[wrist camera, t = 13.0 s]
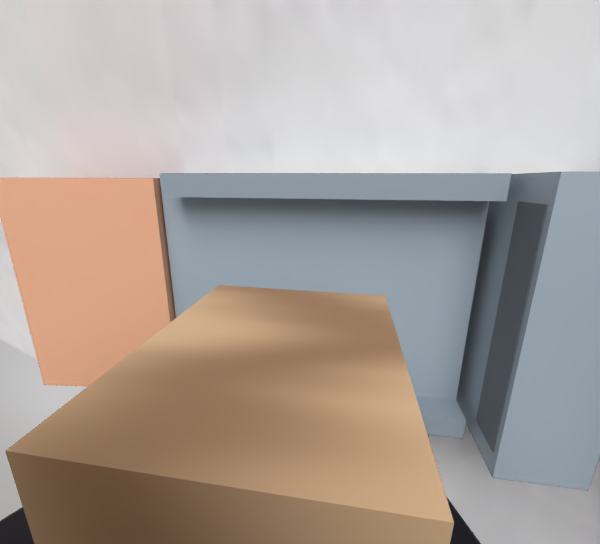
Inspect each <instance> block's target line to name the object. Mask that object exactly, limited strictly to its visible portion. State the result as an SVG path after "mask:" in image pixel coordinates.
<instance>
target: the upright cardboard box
mask: <svg viewBox="0 0 600 544" xmlns="http://www.w3.org/2000/svg"><path fill="white" fill-rule="evenodd" d="M6 454H7V457H8V461H9V464H10V467H11V471H12V474H13V477H14V480H15V483H16V487H17V489H18V493H19V496H20V499H21V502H22V505H23V509H24V512H25V515H26V519H27V522H28V525H29V528H30V531H31V534H32V538H33V541H34V544H450V541H451V536H452V531H453V526H454V521H453V517H452V514H451V511H450V508H449V504H448V501H447V498H446V494H445V491H444V488H443V484H442V481H441V478H440V475H439V471H438V468H437V465H436V461H435V458H434V455H433V451H432V448H431V445H430V442H429V438H428V435H427V432H426V428H425V425H424V422H423V418H422V415H421V412H420V409H419V405H418V402H417V399H416V395H415V392H414V389H413V386H412V382H411V379H410V376H409V372H408V369H407V366H406V362H405V359H404V356H403V353H402V349H401V346H400V343H399V339H398V336H397V333H396V329H395V326H394V323H393V320H392V316H391V313H390V310H389V306H388V303H387V300H386V296H383V295H367V294H351V293H335V292H319V291H303V290H287V289H271V288H256V287H240V286H224V285H218V286H217V287H215V288H214V289H213V290H211V291H210V292H209V293H208V294H206V295H205V296H204V297H202V298H201V299H200V300H199V301H197V302H196V303H195V304H193V305H192V306H191V307H190V308H188V309H187V310H186V311H184V312H183V313H182V314H181V315H179V316H178V317H177V318H175V319H174V320H173V321H172V322H170V323H169V324H168V325H166V326H165V327H164V328H163V329H161V330H160V331H159V332H157V333H156V334H155V335H154V336H152V337H151V338H150V339H148V340H147V341H146V342H145V343H143V344H142V345H141V346H139V347H138V348H137V349H136V350H134V351H133V352H132V353H130V354H129V355H128V356H127V357H125V358H124V359H123V360H121V361H120V362H119V363H118V364H116V365H115V366H114V367H112V368H111V369H110V370H109V371H107V372H106V373H105V374H103V375H102V376H101V377H100V378H98V379H97V380H96V381H94V382H93V383H92V384H91V385H89V386H88V387H87V388H86V389H84V390H83V391H82V392H80V393H79V394H78V395H76V396H75V397H74V398H73V399H71V400H70V401H69V402H68V403H66V404H65V405H64V406H62V407H61V408H60V409H58V410H57V411H56V412H55V413H53V414H52V415H51V416H50V417H48V418H47V419H46V420H44V421H43V422H42V423H41V424H39V425H38V426H37V427H35V428H34V429H33V430H31V431H30V432H29V433H28V434H26V435H25V436H24V437H23V438H21V439H20V440H19V441H17V442H16V443H15V444H13V445H12V446H11V447H10V448H9V449H7V450H6Z"/></svg>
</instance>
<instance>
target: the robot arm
mask: <svg viewBox="0 0 600 544" xmlns="http://www.w3.org/2000/svg"><path fill="white" fill-rule="evenodd" d="M446 498H447V497H446ZM447 501H448V504H449V508H450V511H451V514H452V517H453V521H454V526H453V531H452V536H451V541H450V544H481V543H480V542H479V541H478V539H477V538H476V536H475V535H474V534H473V532H472V531H471V530H470V528H469V527H468V525H467V524H466V523H465V521H464V520H463V519H462V517H461V516H460V515H459V513H458V512H457V510H456V509H455V508H454V506H453V505H452V504H451V502H450V501H449V499H448V498H447ZM0 544H34V541H33V538H32V534H31V531H30V528H29V525H28V522H27V519H26V515H25V512H24V509H23V507H22V508H20V509H19V510H17V511H15V512H14V513H12V514H11V515H9V516H7V517H6V518H4V519H2V520H1V521H0Z"/></svg>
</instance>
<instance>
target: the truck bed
mask: <svg viewBox="0 0 600 544" xmlns="http://www.w3.org/2000/svg"><path fill="white" fill-rule="evenodd" d="M160 183H161V192H162V200H163V209H164V218H165V226H166V235H167V244H168V253H169V261H170V270H171V279H172V288H173V296H174V305H175V314H176V318H177V317H178V316H179V315H181V314H182V313H183V312H184V311H186V310H187V309H188V308H190V307H191V306H192V305H193V304H195V303H196V302H197V301H199V300H200V299H201V298H202V297H204V296H205V295H206V294H208V293H209V292H210V291H211V290H213V289H214V288H215V287H217V286H218V285H224V286H240V287H256V288H271V289H287V290H303V291H319V292H335V293H351V294H367V295H383V296H386V300H387V303H388V306H389V310H390V313H391V316H392V320H393V323H394V326H395V329H396V333H397V336H398V339H399V343H400V346H401V349H402V353H403V356H404V359H405V362H406V366H407V369H408V372H409V376H410V379H411V382H412V386H413V389H414V392H415V395H416V399H417V402H418V405H419V409H420V412H421V415H422V418H423V422H424V425H425V428H426V432H427V434H428V435H437V436H445V437H454V438H463V436H464V431H465V425H466V424H467V426H468V428H469V430H470V432H471V434H472V436H473V438H474V440H475V442H476V444H477V446H478V449H479V451H480V453H481V455H482V457H483V459H484V461H485V463H486V465H487V467H488V469H489V471H490V474H491V476H492V478H497V479H505V480H512V481H520V482H527V483H535V484H542V485H550V486H557V487H565V488H572V489H580V490H587V491H588V489H589V487H590V484H591V481H592V478H593V475H594V472H595V469H596V466H597V463H598V460H599V457H600V172H548V173H527V174H458V173H161V174H160Z"/></svg>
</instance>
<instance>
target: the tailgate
mask: <svg viewBox="0 0 600 544" xmlns="http://www.w3.org/2000/svg"><path fill="white" fill-rule="evenodd" d="M0 217H1V220H2V224H3V228H4V232H5V236H6V240H7V244H8V248H9V251H10V255H11V259H12V263H13V267H14V271H15V275H16V279H17V282H18V286H19V290H20V294H21V298H22V302H23V306H24V310H25V313H26V317H27V321H28V325H29V329H30V333H31V337H32V341H33V344H34V348H35V352H36V356H37V360H38V364H39V368H40V371H41V375H42V379H43V383H44V385H61V386H63V385H65V386H89V385H91V384H92V383H93V382H94V381H96V380H97V379H98V378H100V377H101V376H102V375H103V374H105V373H106V372H107V371H109V370H110V369H111V368H112V367H114V366H115V365H116V364H118V363H119V362H120V361H121V360H123V359H124V358H125V357H127V356H128V355H129V354H130V353H132V352H133V351H134V350H136V349H137V348H138V347H139V346H141V345H142V344H143V343H145V342H146V341H147V340H148V339H150V338H151V337H152V336H154V335H155V334H156V333H157V332H159V331H160V330H161V329H163V328H164V327H165V326H166V325H168V324H169V323H170V322H172V321H173V320H174V319H175V318H176V314H175V305H174V296H173V288H172V279H171V270H170V261H169V253H168V244H167V235H166V226H165V218H164V209H163V200H162V192H161V183H160V178H0Z"/></svg>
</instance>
